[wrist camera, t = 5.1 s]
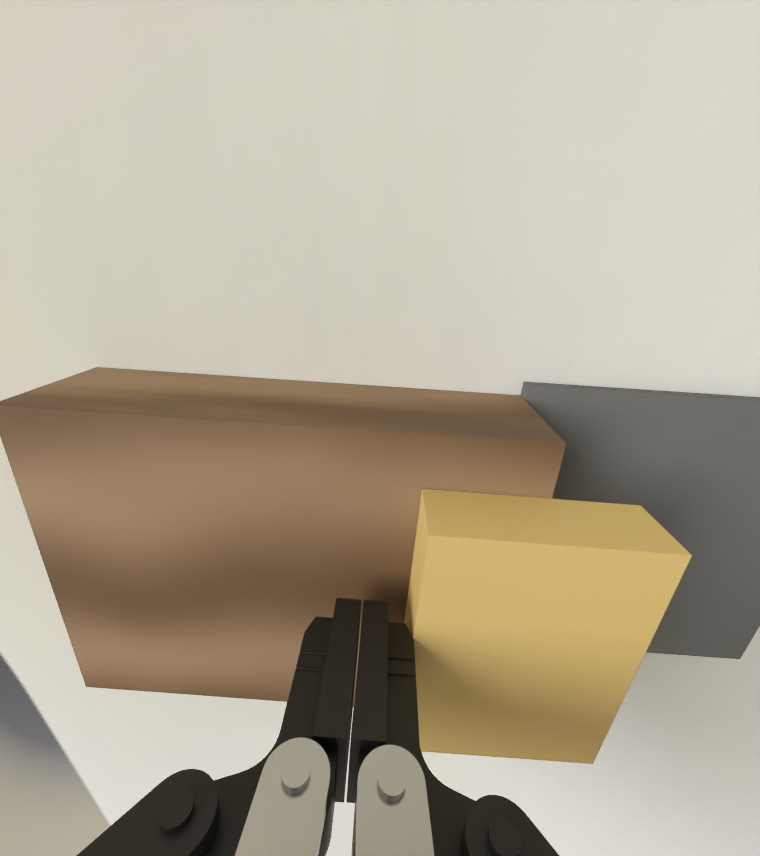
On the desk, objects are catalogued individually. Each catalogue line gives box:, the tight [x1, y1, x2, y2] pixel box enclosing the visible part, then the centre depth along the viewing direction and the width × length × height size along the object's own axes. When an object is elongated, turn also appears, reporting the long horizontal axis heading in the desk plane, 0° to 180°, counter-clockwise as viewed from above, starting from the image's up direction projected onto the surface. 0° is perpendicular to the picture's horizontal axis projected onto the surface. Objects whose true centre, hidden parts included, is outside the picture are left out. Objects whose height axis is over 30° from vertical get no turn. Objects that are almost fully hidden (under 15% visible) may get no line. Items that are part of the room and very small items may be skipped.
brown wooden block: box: [0, 367, 566, 706], centre depth 14 cm, size 11×15×4 cm
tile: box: [404, 489, 692, 764], centre depth 11 cm, size 8×6×2 cm
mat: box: [521, 382, 760, 659], centre depth 16 cm, size 12×12×1 cm
